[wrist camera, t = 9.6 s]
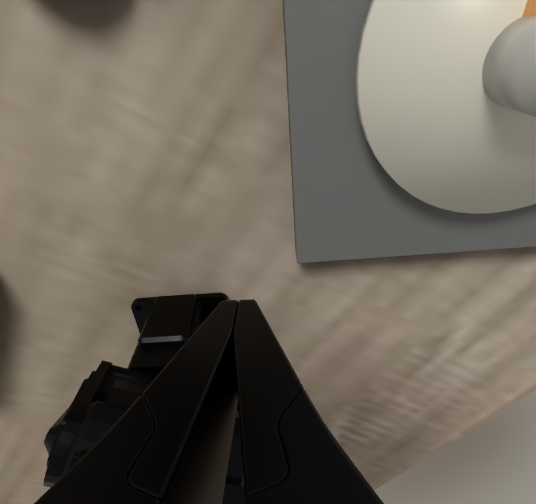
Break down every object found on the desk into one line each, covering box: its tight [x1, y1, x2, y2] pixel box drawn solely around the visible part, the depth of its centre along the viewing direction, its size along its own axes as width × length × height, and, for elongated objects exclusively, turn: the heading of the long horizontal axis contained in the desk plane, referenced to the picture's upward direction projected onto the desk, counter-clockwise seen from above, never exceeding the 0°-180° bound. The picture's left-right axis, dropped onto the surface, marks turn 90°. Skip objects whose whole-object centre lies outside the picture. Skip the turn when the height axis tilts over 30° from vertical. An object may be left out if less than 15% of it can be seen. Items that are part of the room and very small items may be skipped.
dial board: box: [283, 0, 536, 263], centre depth 17 cm, size 20×20×2 cm
